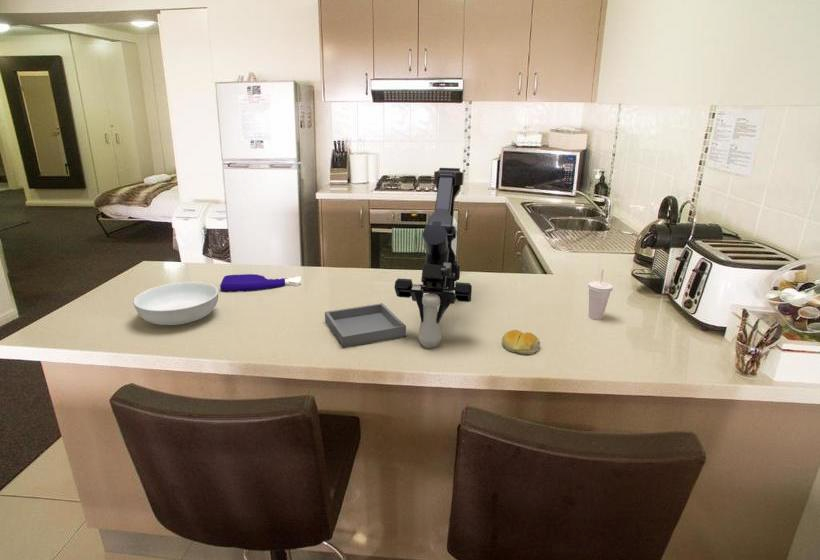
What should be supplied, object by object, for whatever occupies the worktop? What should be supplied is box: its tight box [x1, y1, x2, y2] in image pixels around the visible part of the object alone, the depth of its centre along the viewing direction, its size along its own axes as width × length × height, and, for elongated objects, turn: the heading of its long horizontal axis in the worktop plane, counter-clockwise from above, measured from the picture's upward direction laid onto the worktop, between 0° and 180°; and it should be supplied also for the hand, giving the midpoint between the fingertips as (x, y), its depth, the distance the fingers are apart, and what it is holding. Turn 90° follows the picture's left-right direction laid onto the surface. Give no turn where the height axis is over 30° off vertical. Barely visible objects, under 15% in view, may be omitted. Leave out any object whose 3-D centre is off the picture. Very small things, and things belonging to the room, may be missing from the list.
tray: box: [324, 302, 407, 349], centre depth 129 cm, size 17×17×3 cm
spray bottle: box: [219, 273, 302, 293], centre depth 160 cm, size 3×11×24 cm
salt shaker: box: [417, 293, 443, 349], centre depth 120 cm, size 6×6×13 cm
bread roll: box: [501, 329, 541, 355], centre depth 121 cm, size 8×9×4 cm
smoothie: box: [587, 268, 613, 321], centre depth 137 cm, size 6×6×14 cm
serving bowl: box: [132, 281, 219, 326], centre depth 134 cm, size 21×21×7 cm
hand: (429, 322), depth 118 cm, fingers closed on salt shaker, 3 cm apart
